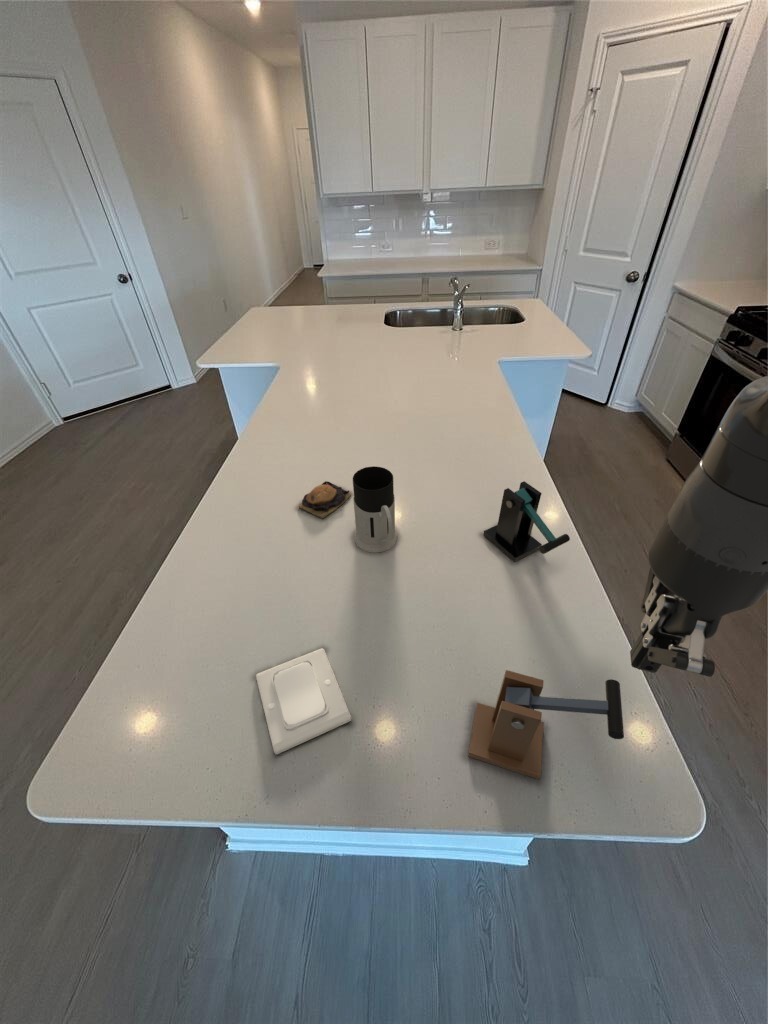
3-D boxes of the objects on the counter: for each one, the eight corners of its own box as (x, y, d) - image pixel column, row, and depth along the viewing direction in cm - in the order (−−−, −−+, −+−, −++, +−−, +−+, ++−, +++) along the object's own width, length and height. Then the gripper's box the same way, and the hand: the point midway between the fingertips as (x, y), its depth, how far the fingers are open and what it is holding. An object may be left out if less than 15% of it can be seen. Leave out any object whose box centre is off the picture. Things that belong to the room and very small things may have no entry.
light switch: (320, 636, 68) (349, 707, 59) (324, 652, 71) (352, 722, 61) (251, 663, 65) (269, 742, 56) (257, 679, 68) (276, 757, 58)
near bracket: (541, 726, 60) (564, 677, 52) (538, 779, 55) (563, 735, 47) (476, 706, 63) (487, 657, 55) (467, 756, 58) (479, 710, 49)
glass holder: (389, 519, 94) (387, 460, 85) (413, 565, 84) (414, 504, 74) (349, 528, 92) (343, 469, 83) (369, 576, 82) (365, 516, 72)
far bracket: (540, 548, 86) (555, 497, 78) (514, 562, 84) (526, 511, 76) (508, 523, 92) (519, 473, 84) (483, 535, 90) (491, 485, 82)
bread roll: (324, 521, 94) (322, 508, 92) (295, 507, 98) (293, 494, 96) (354, 495, 101) (353, 482, 99) (326, 483, 105) (325, 470, 102)
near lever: (621, 689, 49) (618, 677, 48) (625, 742, 45) (622, 730, 44) (513, 683, 55) (508, 672, 54) (508, 730, 51) (502, 719, 50)
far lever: (565, 543, 79) (572, 537, 77) (541, 556, 77) (548, 550, 75) (525, 491, 84) (531, 484, 82) (501, 501, 81) (507, 495, 79)
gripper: (834, 617, 25) (699, 745, 36) (763, 484, 34) (674, 618, 46) (685, 586, 27) (602, 716, 38) (658, 468, 36) (597, 600, 48)
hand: (641, 662), depth 42 cm, fingers closed
